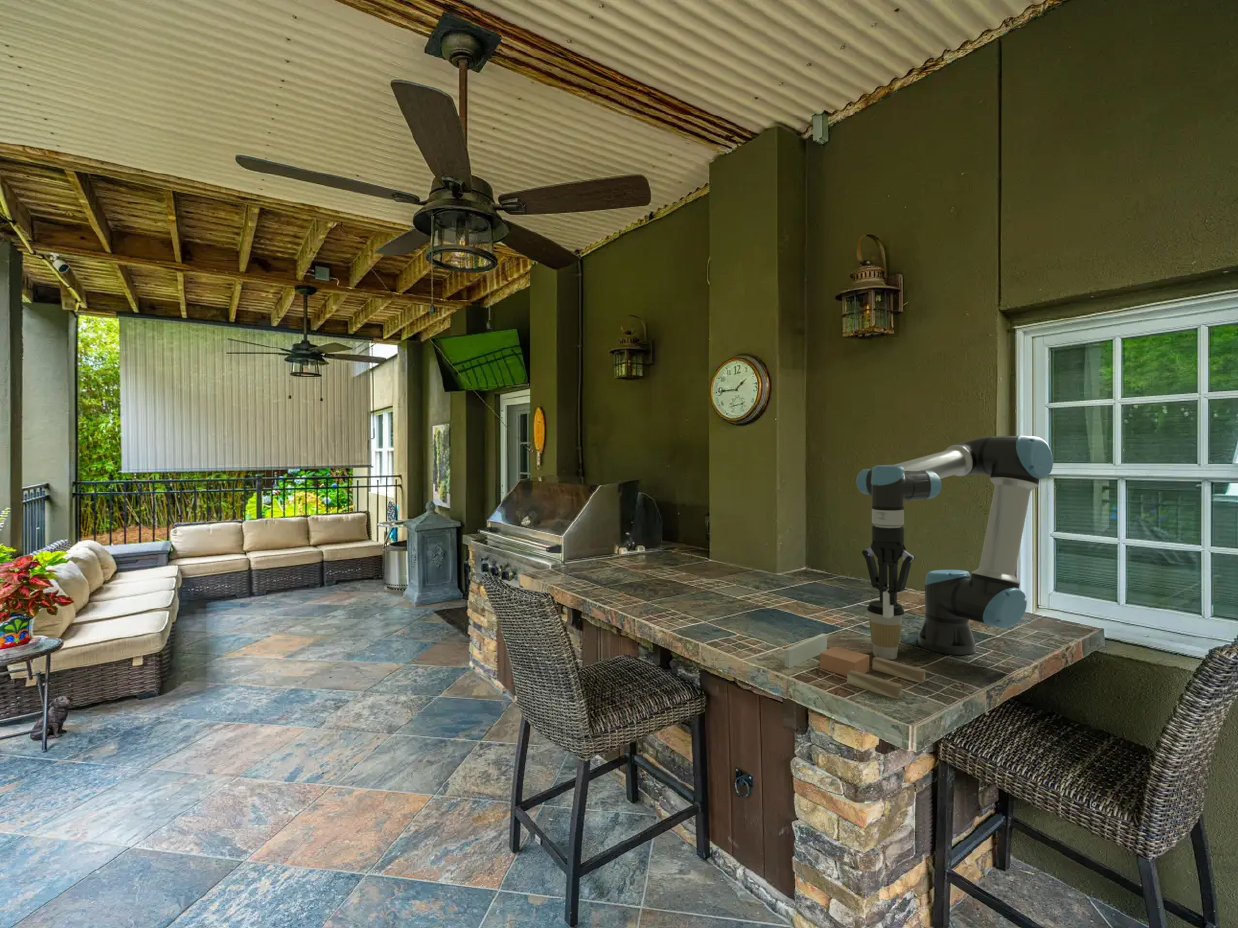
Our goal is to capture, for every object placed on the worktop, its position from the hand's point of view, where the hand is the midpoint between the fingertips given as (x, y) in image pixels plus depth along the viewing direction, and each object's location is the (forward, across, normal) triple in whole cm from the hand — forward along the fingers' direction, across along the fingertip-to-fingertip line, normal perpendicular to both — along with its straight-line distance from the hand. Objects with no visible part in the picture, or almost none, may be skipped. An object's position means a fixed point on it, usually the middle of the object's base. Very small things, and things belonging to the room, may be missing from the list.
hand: (888, 616), depth 155 cm
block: (+17, -12, 0) cm, 21 cm away
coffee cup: (+18, -9, +18) cm, 27 cm away
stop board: (+17, -23, -1) cm, 29 cm away
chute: (+17, 0, -1) cm, 17 cm away
